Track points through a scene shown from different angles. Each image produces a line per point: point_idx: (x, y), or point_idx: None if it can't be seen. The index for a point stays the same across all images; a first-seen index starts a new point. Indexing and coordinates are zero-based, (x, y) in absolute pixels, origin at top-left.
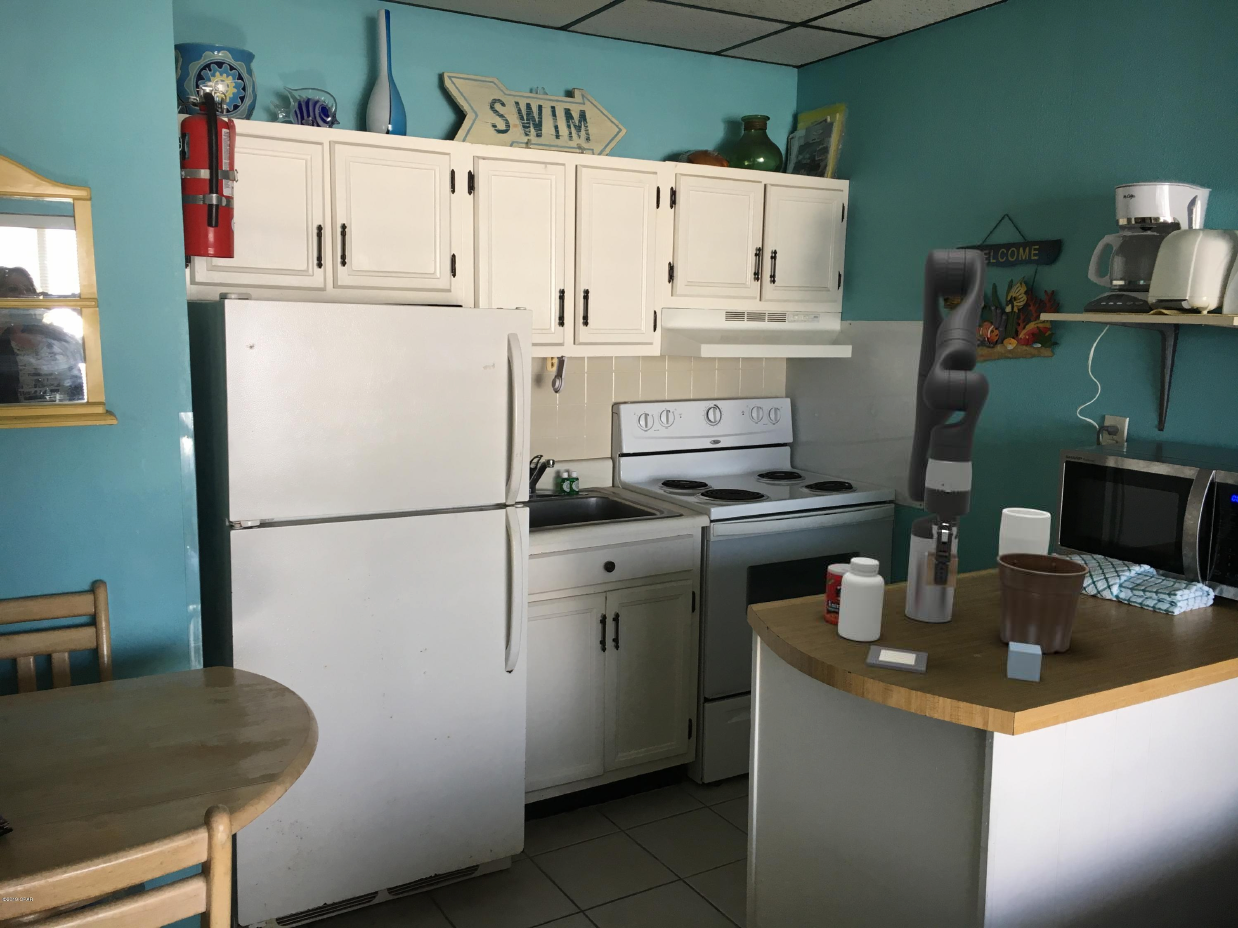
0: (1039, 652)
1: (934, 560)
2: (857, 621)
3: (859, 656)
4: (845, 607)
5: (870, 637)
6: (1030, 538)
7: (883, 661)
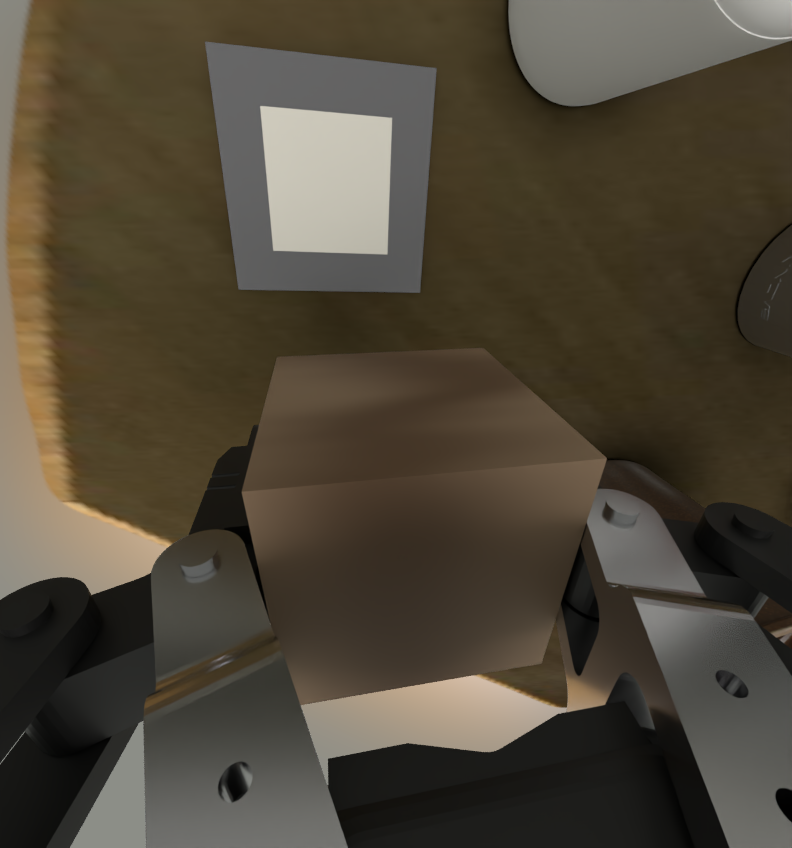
0: None
1: (182, 550)
2: None
3: (311, 11)
4: None
5: (521, 59)
6: None
7: (254, 128)
